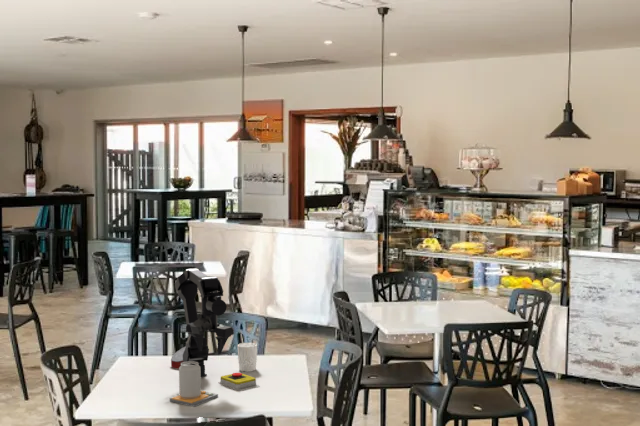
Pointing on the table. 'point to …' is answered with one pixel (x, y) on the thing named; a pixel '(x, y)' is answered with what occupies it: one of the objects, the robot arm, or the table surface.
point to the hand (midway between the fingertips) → (209, 352)
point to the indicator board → (195, 399)
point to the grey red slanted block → (177, 358)
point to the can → (189, 380)
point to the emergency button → (239, 381)
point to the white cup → (247, 356)
